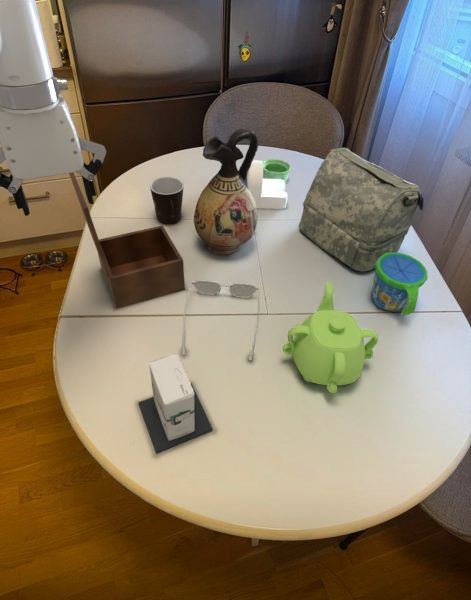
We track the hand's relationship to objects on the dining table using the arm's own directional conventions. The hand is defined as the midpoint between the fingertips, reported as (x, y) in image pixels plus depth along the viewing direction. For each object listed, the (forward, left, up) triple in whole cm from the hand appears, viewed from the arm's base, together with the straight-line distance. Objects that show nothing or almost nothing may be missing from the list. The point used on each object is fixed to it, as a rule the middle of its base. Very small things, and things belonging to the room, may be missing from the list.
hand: (59, 205), depth 66 cm
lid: (+5, +9, -11) cm, 15 cm away
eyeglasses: (+24, -11, -29) cm, 39 cm away
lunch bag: (+67, +2, -28) cm, 73 cm away
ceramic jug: (+37, +14, -29) cm, 49 cm away
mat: (+8, -27, -28) cm, 40 cm away
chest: (+13, +9, -28) cm, 33 cm away
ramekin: (+65, +39, -29) cm, 81 cm away
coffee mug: (+26, +29, -29) cm, 48 cm away
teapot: (+39, -27, -28) cm, 56 cm away
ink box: (+8, -27, -28) cm, 40 cm away
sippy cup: (+62, -19, -29) cm, 71 cm away
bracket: (+53, +31, -28) cm, 68 cm away
